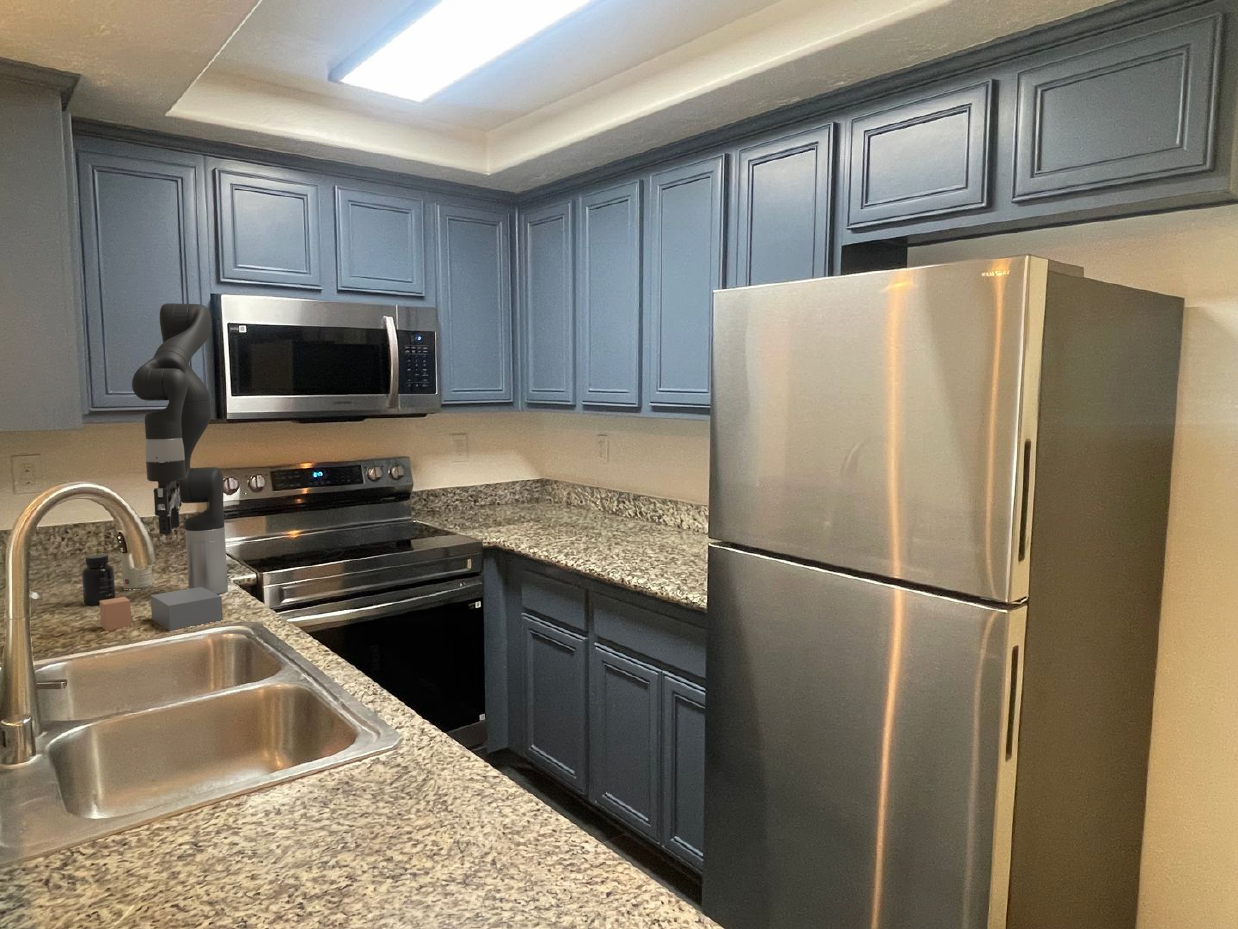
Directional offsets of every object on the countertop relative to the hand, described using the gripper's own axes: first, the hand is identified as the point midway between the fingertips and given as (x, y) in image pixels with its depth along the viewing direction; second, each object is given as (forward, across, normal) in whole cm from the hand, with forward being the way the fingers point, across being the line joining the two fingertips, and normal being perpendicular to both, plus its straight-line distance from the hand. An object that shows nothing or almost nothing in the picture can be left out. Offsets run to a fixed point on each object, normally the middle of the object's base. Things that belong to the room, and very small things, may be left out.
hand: (170, 530), depth 179 cm
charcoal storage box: (+22, -4, +2) cm, 23 cm away
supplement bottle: (+22, -30, -23) cm, 44 cm away
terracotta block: (+22, -4, -13) cm, 26 cm away
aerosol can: (+22, -45, -18) cm, 53 cm away
